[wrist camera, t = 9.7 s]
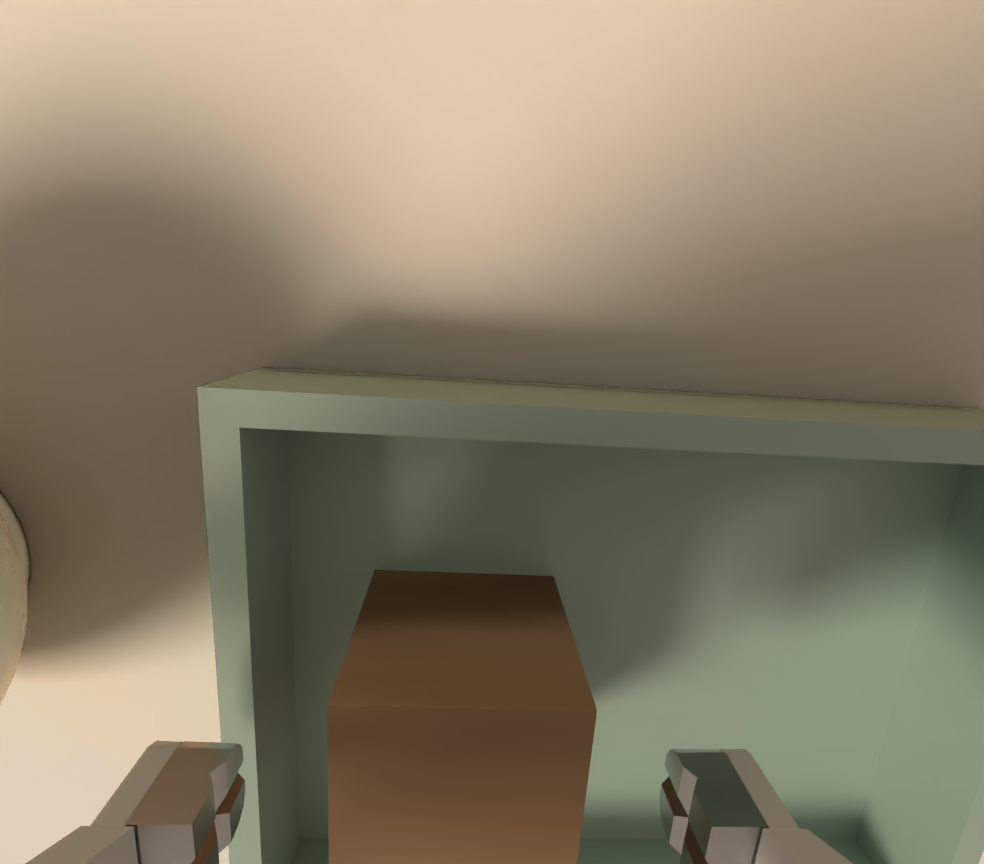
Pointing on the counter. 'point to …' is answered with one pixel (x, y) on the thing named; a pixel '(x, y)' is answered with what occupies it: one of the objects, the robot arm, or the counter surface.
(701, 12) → the counter surface
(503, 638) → the walnut block
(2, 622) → the lidded jar
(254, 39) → the counter surface
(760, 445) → the tray
